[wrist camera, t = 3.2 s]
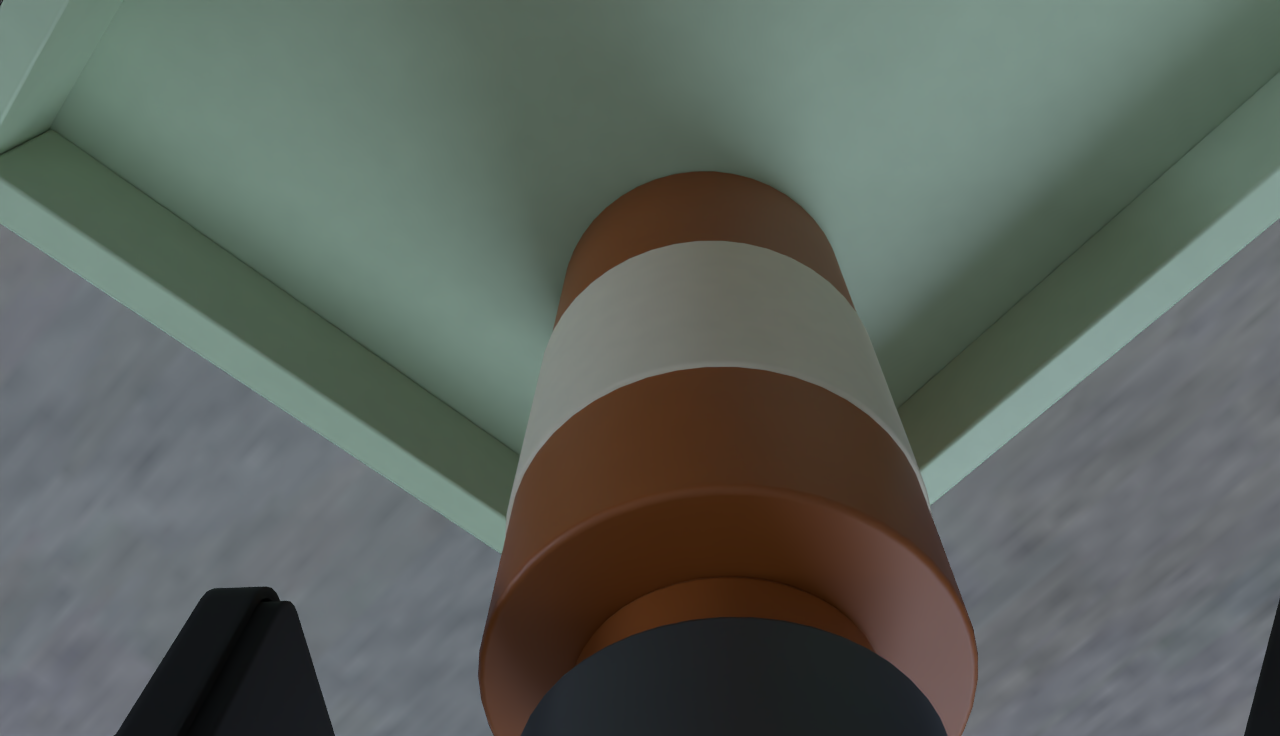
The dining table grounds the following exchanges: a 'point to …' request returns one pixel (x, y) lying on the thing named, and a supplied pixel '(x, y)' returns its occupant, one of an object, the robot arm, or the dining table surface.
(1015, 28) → the tray
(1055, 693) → the dining table surface
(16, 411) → the dining table surface
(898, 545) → the spice bottle
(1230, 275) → the dining table surface
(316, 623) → the dining table surface
